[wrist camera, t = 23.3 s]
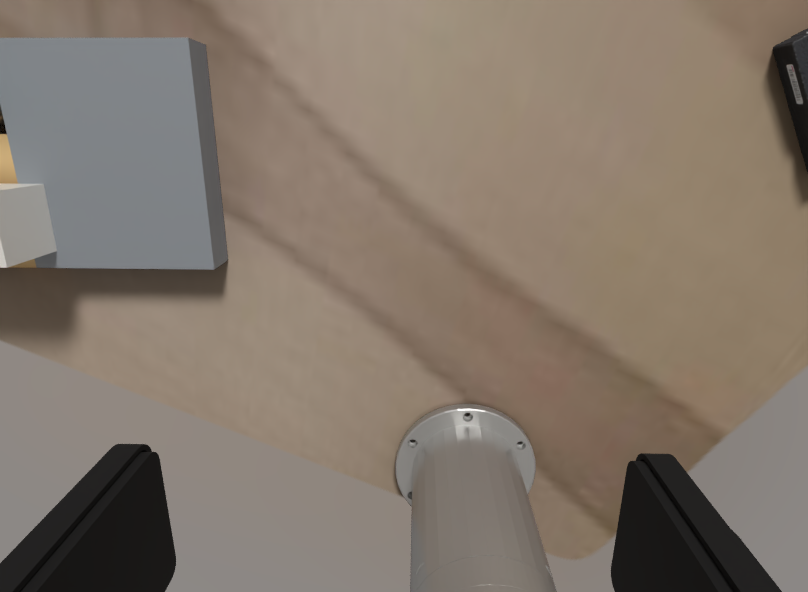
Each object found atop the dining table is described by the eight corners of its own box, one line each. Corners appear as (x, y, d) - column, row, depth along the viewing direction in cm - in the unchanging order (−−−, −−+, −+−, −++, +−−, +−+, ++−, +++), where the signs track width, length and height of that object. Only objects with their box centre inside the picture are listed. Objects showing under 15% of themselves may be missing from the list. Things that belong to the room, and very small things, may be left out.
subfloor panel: (228, 260, 42) (214, 269, 39) (-36, 257, 43) (-68, 266, 40) (205, 44, 37) (188, 37, 35) (-92, 44, 38) (-133, 38, 35)
